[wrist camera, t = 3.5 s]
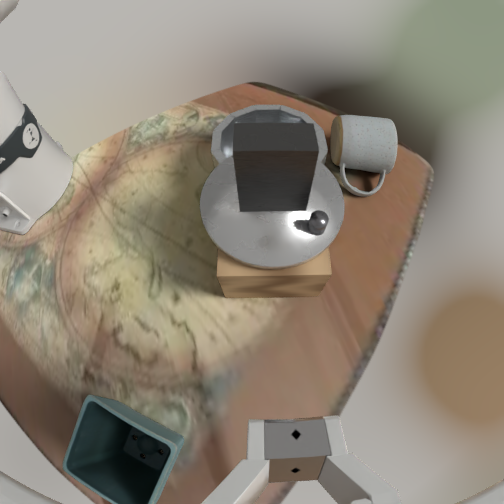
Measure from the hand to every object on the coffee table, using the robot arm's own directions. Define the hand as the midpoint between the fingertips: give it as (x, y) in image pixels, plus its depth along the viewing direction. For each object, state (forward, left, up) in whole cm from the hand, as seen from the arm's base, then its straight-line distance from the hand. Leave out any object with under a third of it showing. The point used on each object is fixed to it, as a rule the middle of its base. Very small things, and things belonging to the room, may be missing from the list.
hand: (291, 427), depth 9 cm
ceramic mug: (+13, +29, -21) cm, 38 cm away
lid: (0, +18, -14) cm, 22 cm away
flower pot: (-13, -6, -21) cm, 26 cm away
